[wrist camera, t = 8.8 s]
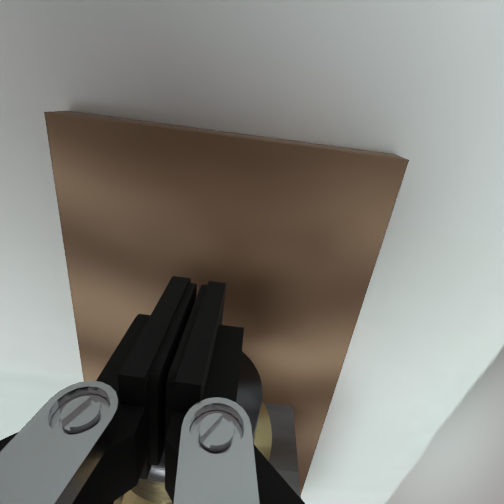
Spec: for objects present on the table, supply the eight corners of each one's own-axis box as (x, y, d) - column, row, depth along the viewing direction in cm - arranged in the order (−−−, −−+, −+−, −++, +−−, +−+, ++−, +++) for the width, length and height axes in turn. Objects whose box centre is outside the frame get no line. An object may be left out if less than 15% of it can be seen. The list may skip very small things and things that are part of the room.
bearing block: (67, 111, 13) (-825, 146, 2) (394, 154, 14) (930, 373, 3) (109, 469, 24) (-24, 774, 13) (292, 492, 24) (312, 813, 13)
